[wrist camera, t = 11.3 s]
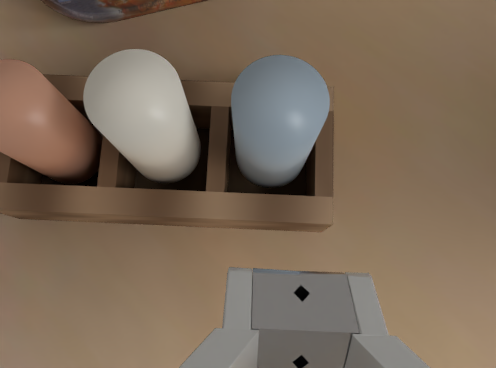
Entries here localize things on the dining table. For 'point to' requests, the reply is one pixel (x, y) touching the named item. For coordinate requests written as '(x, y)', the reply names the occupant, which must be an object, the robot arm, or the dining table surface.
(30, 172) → the three candle holder
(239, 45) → the dining table surface
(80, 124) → the salmon pink capsule
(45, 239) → the dining table surface
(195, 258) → the dining table surface
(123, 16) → the tin
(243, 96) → the blue grey capsule
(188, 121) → the white pillar candle
